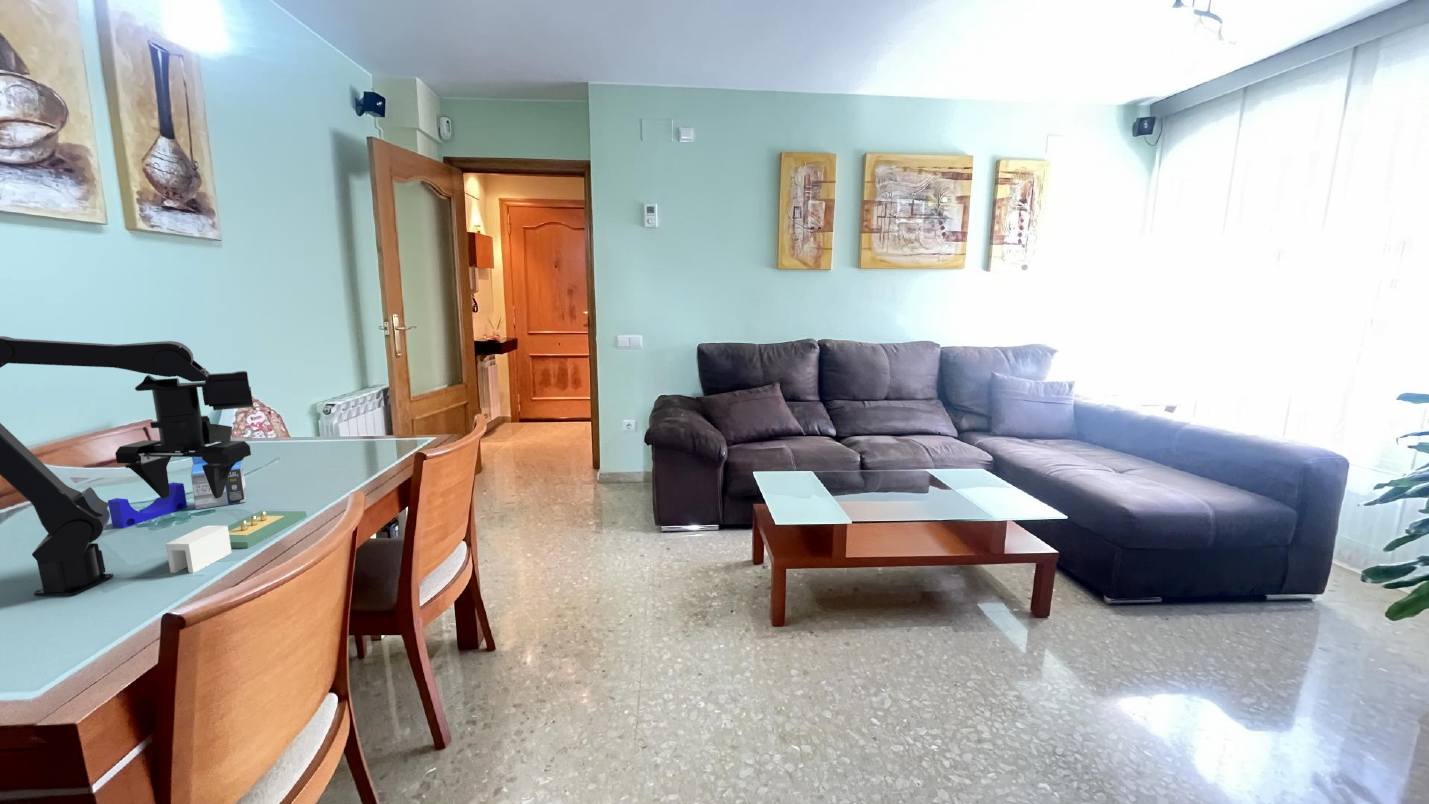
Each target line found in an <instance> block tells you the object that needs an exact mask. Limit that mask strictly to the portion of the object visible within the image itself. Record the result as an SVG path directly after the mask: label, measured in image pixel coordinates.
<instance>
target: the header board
mask: <svg viewBox="0 0 1429 804" xmlns="http://www.w3.org/2000/svg"><path fill="white" fill-rule="evenodd" d="M307 515H308V514H307V511H301V510H297V511H296V510H294V511H293V510H259V511H257V512H254V513H253V514H251V515H249V516H246V517H244V518H242V519H241V520H238V521H236V522H234V523H232V524H229V525H227V526H228V531H229V538H230V545H231V549H249V548H252V546H255V545H256V544H259V543H261V542H262V541H264V540H265V539H267V538H269V537H271V536H273V535H276V534H277V533H278V532H281V531H282V530H285V529H286V528H288V527H290V526H292V525H294V524H296V523H298V522H299V521H301V520H303V519H305V518H307Z"/></svg>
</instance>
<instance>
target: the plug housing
mask: <svg viewBox="0 0 1429 804" xmlns="http://www.w3.org/2000/svg"><path fill="white" fill-rule="evenodd" d="M228 526H229V525H204V526H202V527H200V528H198V529H195V530H192V531H191V532H189V533H187V534H184V535H182V536H179V537H178V538H175V539H173V540H171V541H169V542H167V543H165V549H166V554H167V559H168V560H167V561H168V565H169V571H170V574H173V573H174V574H176V573H177V572H180V571H181V570H184V569H186V568H187V571H188V573H189V574H194V573H196V572H198V571H201V570H202V569H203V568H206V567H207V566H208V567H209V565H211V563H212V564H213V563H215V562H217V561H218V560H221V559H222V558H225V557H227V556H229V555H230V554H233V553H232V548H231V545H230V538H229V531H228ZM205 566H206V567H205Z"/></svg>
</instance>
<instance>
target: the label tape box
mask: <svg viewBox="0 0 1429 804" xmlns="http://www.w3.org/2000/svg"><path fill="white" fill-rule="evenodd" d="M191 459H192V460H191V461H192V466H191V472H190V478H191V485H192V493H193V499H194V505H195V510H201V509H207V508H214V507H221V506H228V505H229V506H230V505H234V504H235V505H236V504H240V503H241V504H242V503H246V502H247V499H248V495H247V487H246V481H245V473H244V465H243V460H242V461H239V462H237V463H236V464H235V465H234V466H233V467H232V469H231V471H230V473H229V476H228V479H227V482H226V485H225V488H224V491H223V495H222V497H220V498H215V497H214V495H213V494H212V491H211V489H210V486H209V483H208V481H207V478H206V475H205V473H204V470H203V467H202V466H203V465H206V464H207V463H206V462H205V461H204V460H202V457H191Z"/></svg>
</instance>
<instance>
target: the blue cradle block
mask: <svg viewBox="0 0 1429 804" xmlns="http://www.w3.org/2000/svg"><path fill="white" fill-rule="evenodd" d="M186 497H187V496H186V491H185V485H184V483H183V482H169V497H167V498H161V497H160V496H159V497H157V498H155V500H153V502H151V503H150V504H149V505H147V506H146V507H144V508H142V509H139V511H138V510H136V509H134V508H133V507H132V506H131V504H130V503H129V500H128V499H127V498H121V497H120V498H119V497H116V498H113V499H112V498H111V499H107V503H109V506H108V511H109V513H110V520H111V521H110V522H111V524H112V525H111V526H112V528H119V529H126V528H129V527H132V526H134V525H135V526H136V525H138V524H141V523H144V522H147V520H148V521H149V519H151V520H153V519H156V518H160V517H162V516H166V515H169V514H171V513H175V512H177V511H181V510H184V509H187V508H188V503H187V498H186ZM159 516H160V517H159ZM143 521H144V522H143Z"/></svg>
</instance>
